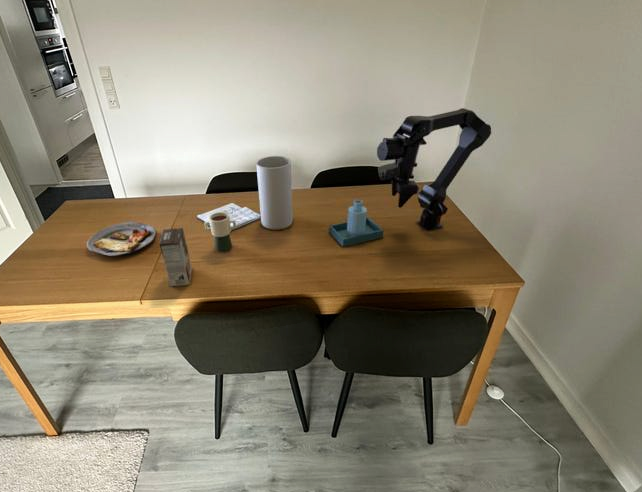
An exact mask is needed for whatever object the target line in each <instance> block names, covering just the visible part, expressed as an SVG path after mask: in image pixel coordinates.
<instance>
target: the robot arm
mask: <svg viewBox="0 0 642 492" xmlns="http://www.w3.org/2000/svg"><path fill="white" fill-rule="evenodd" d="M455 126H459V128H460V129H461V132H460V134H459V137H458V145H457V146H456V148H455V150H454V151H453V152H452V154H451V156H450V157H449V159H448V160H447V161H446V163H445V164H444V166H443V168H442V169H441V171H440V172H439V173H438V175H437V176H436V178H435V179H434V181H433V182H432V183H430V184H427V183H426V184H424V185H423V187H422V189H421V190H420V186H419V185H418V184H417V182H416V181H415V180H414V178H415V175H414V170H415V168H417V167H418V163H417V160H418V159H417V158H418V154H419V150H420V147H421V146H425V145H427V144H428V143H427V142H428V141H426V140H425V138H424V137H427V136H429V135H430V134H431V133H433V132H434V131H437V130H442V129H446V128H451V127H455ZM491 135H492V126H491V125H490V124H488V123H486V122H485V121H484V120H483V119H482V118H481V117H479V116H478V115H477V114H476V112H475V111H474V110H472V109H468V108H465V107H462V108H459V109H457V110H452V111H446V112H443V113H438V114H434V115H430V116H429V115H428V116H426V115H408V116H406V117H405V118H404V119H403V121H402V123H401V125H400V126H399V127H398V129H397V130H396V131H395V132H394V133H393V135H392V137H383V138H382V141H381V142H380V143H379V144H378V146H377V147H376V148H377V149H376V156H377V158H378V160H379V161H381V162H384V161H394V162H392V163H387V164H383V165H379V166H378V167H377V173H378V177H379V180H380V181H386V180H389V179H390V180H391V196H392V197H395V196H396V195H397V194H398V204H397V207H398V208H399V209H401V208H403V207H404V205H405V204H406V203H407V202H408V201H409V200H410V199H411V198H412V197H413V196H414V195H417V194H418V196H417V202H418V204H419V206H420V208H422V213H421V215H420V219H419V221H417V224H418V225H420V226H421V227H422V228H424V230H426V231H432V230H436V229H439V228H443V225H442V224H441V219H442V217H443V215H446V214H447V212H448V210H449V208H448V207H447V206H446V205H445V204H444V202H445V201H446V198H447V190H448V188H449V186H450V185H451V184H452V182H453V180H454V179H455V177H457V175H458V174H459V172H460V171H461V169H462V167H463V166H464V165H465V163H466V161H467V160H468V159H469V157H470V156H471V155H472V153H473V152H474V151H476V150H477V149H478V148H480V147H482V146H483V145H484V144H485V143H486V141H488V139H489V138H490V136H491ZM419 190H420V191H419Z"/></svg>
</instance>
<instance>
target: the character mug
mask: <svg viewBox="0 0 642 492" xmlns="http://www.w3.org/2000/svg"><path fill="white" fill-rule="evenodd" d="M230 223H233V226H231V225H230ZM209 224H210V225H209ZM204 228H205V231H211V234H212V236H213V237H214V248H215V250H216V251H218V252H226V251H229V250H230V249H232V247H233V243H232V239H231V236H230V233H231V231H232V230H231V229H233V230H236V229H237V228H236V222H235V220H230V217H229V214H228V213H225V212H217V213H214V214H212V215H210V217H209V221H208V222H205V221H204ZM235 228H236V229H235Z"/></svg>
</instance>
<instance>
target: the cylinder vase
mask: <svg viewBox="0 0 642 492" xmlns="http://www.w3.org/2000/svg"><path fill="white" fill-rule="evenodd" d="M255 163H256V176H257V186H258V187H257V188H258V198H259V211H260V212H259V213H260V215H261V216H260V221H261V222H260V223H261V225H262V226H263V227H264V228H265V229H268V230H272V231H273V230H275V231H277V230H284V229H287V228H289V227H290V226H291V225H292V224H293V221H294V220H293V219H294V218H293V185H292V184H293V183H292V160H291V159H290V158H289V157H286V156H280V155H270V156H265V157H262V158H260V159H258V160H257V161H256V162H255Z"/></svg>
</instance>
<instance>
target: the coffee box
mask: <svg viewBox="0 0 642 492" xmlns="http://www.w3.org/2000/svg"><path fill="white" fill-rule="evenodd" d="M158 245H159V248H160V253H161V256H162V259H163V264H164V268H165V270H166V274H167V278H168V282H169V286H170V287H178V286H190V284H191V277H192V271H193V267H192V263H191V258H190V254H189V249H188V245H187V241H186V236H185V231H184V227H180V228H179V227H178V228H165V229H162V232H161V237H160V240H159V244H158Z"/></svg>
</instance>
